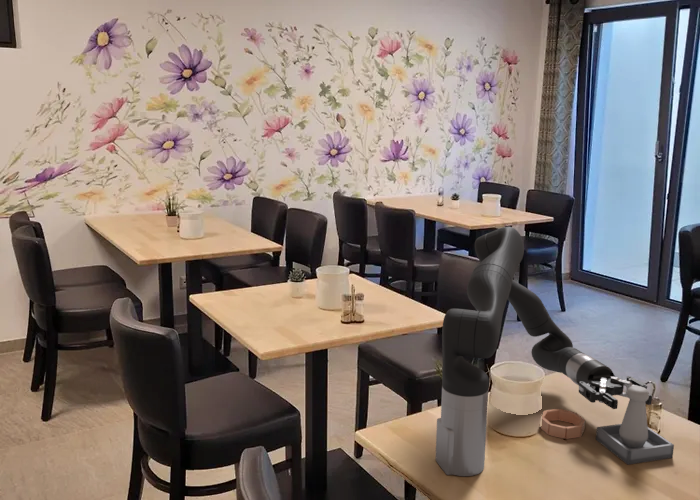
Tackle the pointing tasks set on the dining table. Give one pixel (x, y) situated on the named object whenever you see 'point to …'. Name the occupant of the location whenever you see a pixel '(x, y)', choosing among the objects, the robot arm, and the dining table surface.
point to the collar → (561, 430)
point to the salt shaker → (635, 418)
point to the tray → (650, 451)
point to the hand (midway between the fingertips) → (633, 402)
